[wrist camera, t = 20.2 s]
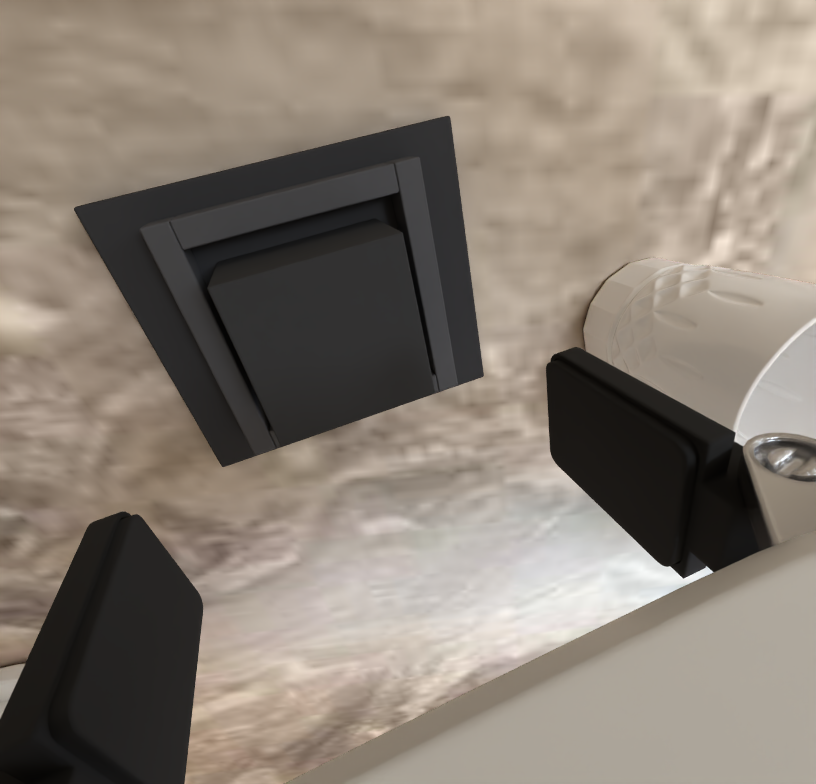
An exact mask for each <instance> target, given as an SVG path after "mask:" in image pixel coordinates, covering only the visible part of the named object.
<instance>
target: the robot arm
mask: <svg viewBox="0 0 816 784" xmlns="http://www.w3.org/2000/svg"><path fill="white" fill-rule="evenodd" d="M546 378H547V397H548V417H549V436H550V452H551V455H552V458H553V460H554V461H555V463H556V464H557V465H558V466H559V467H560V468H561V469H562V470H563V471H564V472H565V473H566V474H567V475H568V476H569V477H570V478H571V479H572V480H573V481H574V482H575V483H577V484H578V485H579V486H580V487H581V488H582V489H583V490H584V491H585V492H586V493H587V494H588V495H589V496H590V497H591V498H592V499H593V500H594V501H595V502H596V503H597V504H598V505H599V506H600V507H601V508H602V509H603V510H604V511H606V512H607V513H608V514H609V515H610V516H611V517H612V518H613V519H614V520H615V521H616V522H617V523H618V524H619V525H620V526H621V527H622V528H623V529H624V530H625V531H626V532H627V533H628V534H629V535H630V536H631V537H632V538H634V539H635V540H636V541H637V542H638V543H639V544H640V545H641V546H642V547H643V548H644V549H645V550H646V551H647V552H648V553H649V554H650V555H651V556H652V557H653V558H654V559H655V560H656V561H657V562H659V563H660V564H661V565H663V566H666V567H668V566H671V567H672V568H673V569H674V570H675V571H676V572H677V573H678V574H679V575H680V576H681V577H682V578H683V579H684V578H686V577H688V576H690V575H692V574H694V573H696V572H698V571H700V570H702V569H704V568H705V567H706V566H707V567H708V568H710V569H711V570H712V571H713V572H714V573H712V574H710V575H707V576H705V577H703V578H701V579H699V580H697V581H694V582H692V583H690V584H688V585H686V586H684V587H682V588H679V589H677V590H675V591H673V592H671V593H669V594H667V595H665V596H663V597H661V598H659V599H657V600H655V601H653V602H651V603H649V604H647V605H645V606H643V607H640V608H638V609H636V610H634V611H632V612H630V613H628V614H626V615H624V616H622V617H620V618H618V619H616V620H614V621H612V622H610V623H608V624H606V625H604V626H602V627H599V628H597V629H595V630H593V631H591V632H589V633H587V634H585V635H583V636H581V637H579V638H577V639H575V640H573V641H571V642H569V643H567V644H565V645H563V646H560V647H558V648H556V649H554V650H552V651H550V652H548V653H546V654H544V655H542V656H540V657H538V658H536V659H534V660H532V661H530V662H528V663H526V664H524V665H522V666H520V667H518V668H516V669H514V670H512V671H510V672H508V673H506V674H504V675H502V676H500V677H498V678H496V679H494V680H492V681H489V682H487V683H485V684H483V685H481V686H479V687H477V688H475V689H473V690H471V691H469V692H467V693H465V694H463V695H461V696H459V697H457V698H455V699H453V700H451V701H449V702H447V703H445V704H443V705H441V706H439V707H437V708H435V709H433V710H431V711H429V712H427V713H425V714H423V715H421V716H419V717H417V718H415V719H413V720H411V721H409V722H407V723H405V724H403V725H401V726H399V727H397V728H395V729H392V730H390V731H388V732H386V733H384V734H382V735H380V736H378V737H376V738H374V739H372V740H370V741H368V742H366V743H364V744H362V745H360V746H358V747H356V748H354V749H352V750H350V751H348V752H346V753H344V754H342V755H340V756H338V757H336V758H334V759H332V760H330V761H328V762H326V763H324V764H322V765H320V766H318V767H316V768H314V769H312V770H310V771H308V772H306V773H304V774H302V775H300V776H298V777H296V778H295V779H293V780H291V781H289V782H287V783H285V784H816V439H814V438H810V437H807V436H803V435H799V434H791V433H766V434H761V435H757V436H755V437H753V438H751V439H749V440H748V441H747V442H746V444H745V445H744V446H742V445H740V444H738V443H737V442H735V441H734V439H735V435H736V432H734V431H732V430H730V429H728V428H726V427H725V426H723V425H721V424H719V423H717V422H715V421H713V420H712V419H710V418H708V417H706V416H704V415H702V414H701V413H699V412H697V411H695V410H693V409H691V408H690V407H688V406H686V405H684V404H682V403H680V402H679V401H677V400H675V399H673V398H671V397H669V396H667V395H666V394H664V393H662V392H660V391H658V390H656V389H655V388H653V387H651V386H649V385H647V384H645V383H644V382H642V381H640V380H638V379H636V378H634V377H632V376H631V375H629V374H627V373H625V372H623V371H621V370H620V369H618V368H616V367H614V366H612V365H610V364H609V363H607V362H605V361H603V360H601V359H599V358H597V357H596V356H594V355H592V354H590V353H588V352H586V351H585V350H583V349H581V348H578V347H574V348H571V349H568V350H565V351H563V352H560V353H557V354H554V355H553V356H552V358H551V362H550V363H548V364H547V366H546ZM202 616H203V603H202V599H201V597H200V594H199V593H198V591H197V590H196V589H195V587H194V586H193V585H192V583H191V582H190V581H189V579H188V578H187V577H186V575H185V574H184V573H183V571H182V570H181V569H180V567H179V566H178V565H177V563H176V562H175V561H174V559H173V558H172V557H171V555H170V554H169V553H168V551H167V550H166V549H165V547H164V546H163V545H162V544H161V542H160V541H159V540H158V538H157V537H156V536H155V534H154V533H153V532H152V530H151V529H150V528H149V526H148V525H147V524H146V522H145V521H144V520H143V518H142V517H141V516H139V515H137V514H135V515H132V516H131V515H130V514H129V513H127V512H119V513H116V514H114V515H111V516H108V517H105V518H103V519H100V520H97V521H94V522H92V523H91V524H90V525H89V526H88V528H87V530H86V532H85V534H84V536H83V538H82V541H81V543H80V545H79V547H78V549H77V552H76V554H75V556H74V558H73V560H72V562H71V565H70V567H69V569H68V571H67V573H66V576H65V578H64V580H63V582H62V584H61V587H60V589H59V591H58V593H57V595H56V598H55V600H54V602H53V604H52V606H51V609H50V611H49V613H48V615H47V617H46V620H45V622H44V624H43V626H42V628H41V631H40V633H39V635H38V637H37V639H36V641H35V644H34V646H33V648H32V650H31V652H30V655H29V657H28V659H27V661H26V663H24V664H17V665H12V666H8V667H3V668H0V784H184V782H185V773H186V764H187V755H188V745H189V736H190V727H191V717H192V708H193V699H194V690H195V680H196V671H197V662H198V653H199V643H200V634H201V625H202Z"/></svg>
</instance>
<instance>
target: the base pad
mask: <svg viewBox="0 0 816 784" xmlns="http://www.w3.org/2000/svg"><path fill="white" fill-rule="evenodd" d="M74 211H75V212H76V214H77V216H78V218H79V219H80V221H81V223H82V225H83V226H84V228H85V230H86V231H87V233H88V235H89V237H90V238H91V240H92V242H93V244H94V245H95V247H96V249H97V251H98V252H99V254H100V256H101V258H102V259H103V261H104V263H105V264H106V266H107V268H108V270H109V271H110V273H111V275H112V277H113V278H114V280H115V282H116V284H117V285H118V287H119V289H120V290H121V292H122V294H123V296H124V297H125V299H126V301H127V303H128V304H129V306H130V308H131V310H132V311H133V313H134V315H135V317H136V318H137V320H138V322H139V323H140V325H141V327H142V329H143V330H144V332H145V334H146V336H147V337H148V339H149V341H150V343H151V344H152V346H153V348H154V349H155V351H156V353H157V355H158V356H159V358H160V360H161V362H162V363H163V365H164V367H165V369H166V370H167V372H168V374H169V376H170V377H171V379H172V381H173V382H174V384H175V386H176V388H177V389H178V391H179V393H180V395H181V396H182V398H183V400H184V402H185V403H186V405H187V407H188V408H189V410H190V412H191V414H192V415H193V417H194V419H195V421H196V422H197V424H198V426H199V428H200V429H201V431H202V433H203V434H204V436H205V438H206V440H207V441H208V443H209V445H210V447H211V448H212V450H213V452H214V454H215V455H216V457H217V459H218V461H219V462H220V464H221V466H222V467H225V466H228V465H231V464H234V463H237V462H240V461H243V460H245V459H248V458H251V457H254V456H257V455H260V454H263V453H266V452H268V451H271V450H274V449H277V448H280V447H281V446H280V444H279V442H278V440H277V437H276V435H275V433H274V431H273V429H272V427H271V425H270V422H269V420H268V418H267V416H266V414H265V412H264V410H263V407H262V405H261V403H260V401H259V399H258V397H257V395H256V392H255V390H254V388H253V386H252V384H251V382H250V379H249V377H248V375H247V373H246V371H245V369H244V367H243V364H242V362H241V360H240V358H239V356H238V354H237V352H236V349H235V347H234V345H233V343H232V341H231V339H230V337H229V334H228V332H227V330H226V328H225V326H224V324H223V322H222V319H221V317H220V315H219V313H218V311H217V309H216V307H215V304H214V302H213V300H212V298H211V296H210V294H209V291H208V285H209V283H210V280H211V277H212V275H213V272H214V270H215V267H216V264H217V262H218V261H222V260H226V259H229V258H233V257H237V256H240V255H244V254H247V253H251V252H255V251H258V250H262V249H265V248H269V247H273V246H276V245H280V244H284V243H287V242H291V241H294V240H298V239H302V238H305V237H309V236H312V235H316V234H320V233H323V232H327V231H331V230H334V229H338V228H341V227H345V226H349V225H352V224H356V223H359V222H363V221H367V220H370V219H374V218H375V219H377V220H379V221H381V222H383V223H385V224H387V225H389V226H391V227H393V228H395V229H396V230H398V231H400V232H402V233H403V237H404V242H405V246H406V251H407V256H408V261H409V266H410V271H411V276H412V281H413V286H414V291H415V295H416V300H417V305H418V310H419V315H420V320H421V325H422V330H423V335H424V340H425V344H426V349H427V354H428V359H429V364H430V369H431V374H432V379H433V384H434V389H435V393H438V392H440V391H443V390H446V389H449V388H452V387H455V386H458V385H461V384H463V383H466V382H469V381H472V380H475V379H478V378H481V377H483V376H484V374H483V366H482V359H481V351H480V343H479V335H478V328H477V320H476V312H475V305H474V297H473V289H472V282H471V274H470V266H469V258H468V251H467V243H466V235H465V228H464V220H463V212H462V204H461V197H460V189H459V181H458V174H457V166H456V158H455V151H454V143H453V135H452V127H451V120H450V116H445V117H440V118H436V119H432V120H428V121H424V122H420V123H416V124H412V125H408V126H404V127H400V128H396V129H391V130H387V131H383V132H379V133H375V134H371V135H367V136H363V137H359V138H355V139H351V140H347V141H342V142H338V143H334V144H330V145H326V146H322V147H318V148H314V149H310V150H306V151H302V152H297V153H293V154H289V155H285V156H281V157H277V158H273V159H269V160H265V161H261V162H257V163H253V164H248V165H244V166H240V167H236V168H232V169H228V170H224V171H220V172H216V173H212V174H208V175H204V176H199V177H195V178H191V179H187V180H183V181H179V182H175V183H171V184H167V185H163V186H159V187H154V188H150V189H146V190H142V191H138V192H134V193H130V194H126V195H122V196H118V197H114V198H110V199H105V200H101V201H97V202H93V203H89V204H85V205H81V206H78V207H75V208H74ZM435 393H434V394H435Z"/></svg>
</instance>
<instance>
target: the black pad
mask: <svg viewBox="0 0 816 784" xmlns="http://www.w3.org/2000/svg"><path fill="white" fill-rule="evenodd" d="M208 291H209V294H210V296H211V298H212V300H213V302H214V304H215V307H216V309H217V311H218V313H219V315H220V317H221V319H222V322H223V324H224V326H225V328H226V330H227V332H228V334H229V337H230V339H231V341H232V343H233V345H234V347H235V349H236V352H237V354H238V356H239V358H240V360H241V362H242V364H243V367H244V369H245V371H246V373H247V375H248V377H249V379H250V382H251V384H252V386H253V388H254V390H255V392H256V395H257V397H258V399H259V401H260V403H261V405H262V407H263V410H264V412H265V414H266V416H267V418H268V420H269V422H270V425H271V427H272V429H273V431H274V433H275V435H276V437H277V440H278V442H279V444H280V446H281V447H283V446H286V445H289V444H292V443H294V442H297V441H300V440H303V439H306V438H309V437H312V436H314V435H317V434H320V433H323V432H326V431H329V430H332V429H335V428H337V427H340V426H343V425H346V424H349V423H352V422H355V421H357V420H360V419H363V418H366V417H369V416H372V415H375V414H378V413H380V412H383V411H386V410H389V409H392V408H395V407H398V406H400V405H403V404H406V403H409V402H412V401H415V400H418V399H420V398H423V397H426V396H429V395H432V394H434V393H435V389H434V384H433V379H432V374H431V369H430V364H429V359H428V354H427V349H426V344H425V340H424V335H423V330H422V325H421V320H420V315H419V310H418V305H417V300H416V295H415V291H414V286H413V281H412V276H411V271H410V266H409V261H408V256H407V251H406V246H405V242H404V237H403V233H402V232H400V231H398V230H396V229H395V228H393V227H391V226H389V225H387V224H385V223H383V222H381V221H379V220H377V219H375V218H374V219H370V220H367V221H363V222H359V223H356V224H352V225H349V226H345V227H341V228H338V229H334V230H331V231H327V232H323V233H320V234H316V235H312V236H309V237H305V238H302V239H298V240H294V241H291V242H287V243H284V244H280V245H276V246H273V247H269V248H265V249H262V250H258V251H255V252H251V253H247V254H244V255H240V256H237V257H233V258H229V259H226V260H222V261H218V262H217V264H216V267H215V270H214V272H213V275H212V277H211V280H210V283H209V285H208Z"/></svg>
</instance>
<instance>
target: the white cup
mask: <svg viewBox="0 0 816 784" xmlns="http://www.w3.org/2000/svg"><path fill="white" fill-rule="evenodd" d="M583 332H584V340H585V347H586V352H588V353H590V354H592V355H594V356H596V357H597V358H599V359H601V360H603V361H605V362H607V363H609V364H610V365H612V366H614V367H616V368H618V369H620V370H621V371H623V372H625V373H627V374H629V375H631V376H632V377H634V378H636V379H638V380H640V381H642V382H644V383H645V384H647V385H649V386H651V387H653V388H655V389H656V390H658V391H660V392H662V393H664V394H666V395H667V396H669V397H671V398H673V399H675V400H677V401H679V402H680V403H682V404H684V405H686V406H688V407H690V408H691V409H693V410H695V411H697V412H699V413H701V414H702V415H704V416H706V417H708V418H710V419H712V420H713V421H715V422H717V423H719V424H721V425H723V426H725V427H726V428H728V429H730V430H732V431H734V432H736V435H735V439H734V441H735V442H737V443H738V444H740V445H742V446H744V445H745V444H746V442H747V441H748V440H749V439H751V438H753V437H755V436H757V435H761V434H766V433H791V434H799V435H803V436H807V437H810V438H814V439H816V284H815V283H810V282H804V281H799V280H794V279H788V278H783V277H777V276H772V275H767V274H761V273H755V272H749V271H742V270H733V269H728V268H723V267H717V266H711V265H691V264H687V263H682V262H677V261H672V260H667V259H662V258H656V257H652V258H648V259H644V260H639V261H635V262H631V263H629V264H627V265H626V266H625V267H623V268H622V269H621V270H619V271H618V272H617V273H615V274H614V275H613V276H611V277H610V278H609V279H607V280H606V282H605V283H604V285H603V286H602V288H601V289H600V290H599V292H598V293H597V295H596V296H595V298H594V299H593V301H592V302H591V304H590V307H589V310H588V314H587V317H586V321H585V324H584V328H583Z"/></svg>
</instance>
